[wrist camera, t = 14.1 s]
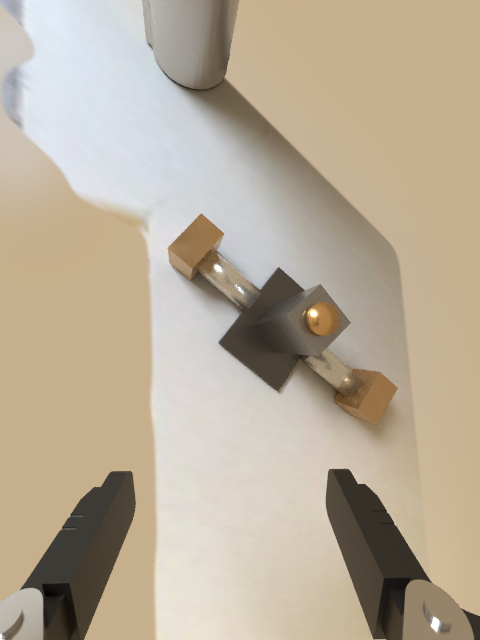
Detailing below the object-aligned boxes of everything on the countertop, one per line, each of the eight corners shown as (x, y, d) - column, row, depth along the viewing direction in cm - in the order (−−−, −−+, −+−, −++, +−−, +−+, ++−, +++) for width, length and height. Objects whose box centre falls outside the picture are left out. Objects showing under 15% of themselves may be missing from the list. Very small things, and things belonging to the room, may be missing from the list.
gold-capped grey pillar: (276, 353, 29) (324, 356, 20) (253, 325, 29) (290, 314, 19) (301, 329, 30) (357, 321, 21) (279, 302, 30) (325, 281, 21)
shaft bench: (148, 285, 27) (142, 274, 23) (216, 213, 30) (222, 191, 25) (336, 438, 30) (361, 453, 26) (381, 361, 33) (410, 363, 29)
